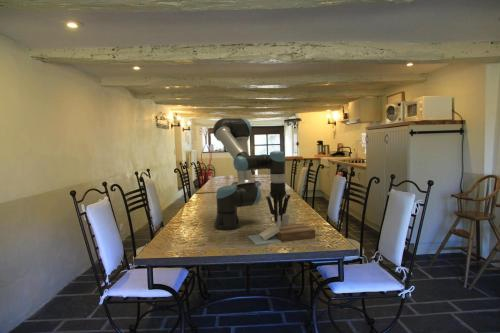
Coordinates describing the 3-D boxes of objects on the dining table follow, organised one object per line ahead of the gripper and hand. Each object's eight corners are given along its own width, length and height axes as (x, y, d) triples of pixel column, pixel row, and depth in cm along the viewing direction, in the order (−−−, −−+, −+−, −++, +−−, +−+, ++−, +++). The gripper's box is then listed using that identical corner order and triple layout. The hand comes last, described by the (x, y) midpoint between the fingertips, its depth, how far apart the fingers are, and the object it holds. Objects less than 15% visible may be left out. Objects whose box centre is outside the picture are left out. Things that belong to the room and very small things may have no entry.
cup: (269, 228, 183) (269, 214, 182) (271, 224, 191) (270, 211, 190) (289, 229, 181) (289, 215, 180) (289, 225, 189) (289, 211, 188)
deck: (272, 233, 173) (271, 226, 172) (302, 230, 178) (302, 223, 178) (282, 241, 159) (282, 233, 159) (315, 237, 165) (315, 230, 164)
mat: (247, 236, 169) (247, 235, 169) (270, 233, 173) (270, 233, 173) (256, 245, 155) (256, 244, 155) (281, 242, 159) (281, 241, 159)
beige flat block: (261, 237, 166) (259, 233, 166) (275, 228, 169) (274, 224, 168) (264, 240, 161) (263, 237, 160) (280, 231, 163) (278, 227, 162)
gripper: (268, 183, 158) (268, 231, 161) (292, 182, 162) (293, 228, 164) (263, 181, 166) (263, 227, 168) (286, 180, 169) (287, 224, 172)
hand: (278, 227), depth 166 cm, fingers closed
